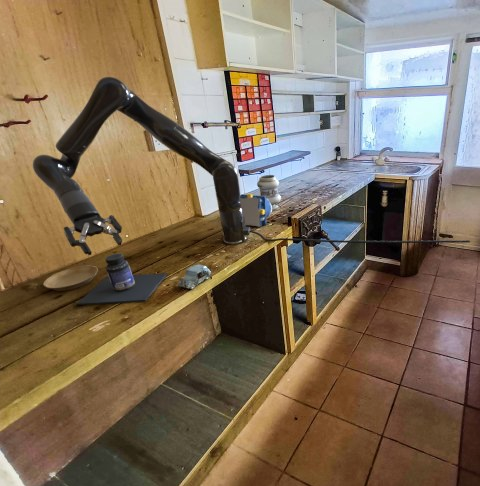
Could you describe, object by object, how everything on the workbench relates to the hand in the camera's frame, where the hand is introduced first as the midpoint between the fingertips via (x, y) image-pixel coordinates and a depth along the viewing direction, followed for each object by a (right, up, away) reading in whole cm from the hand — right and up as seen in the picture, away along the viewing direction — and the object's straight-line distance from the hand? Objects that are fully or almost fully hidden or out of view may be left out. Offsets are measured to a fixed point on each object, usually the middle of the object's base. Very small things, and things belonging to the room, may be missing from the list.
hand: (105, 248), depth 98 cm
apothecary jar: (+39, +21, +76) cm, 88 cm away
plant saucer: (-16, -12, +7) cm, 21 cm away
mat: (+5, -13, +2) cm, 14 cm away
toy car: (+28, -12, +4) cm, 30 cm away
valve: (+35, +12, +57) cm, 68 cm away
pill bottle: (+5, -13, +2) cm, 14 cm away
